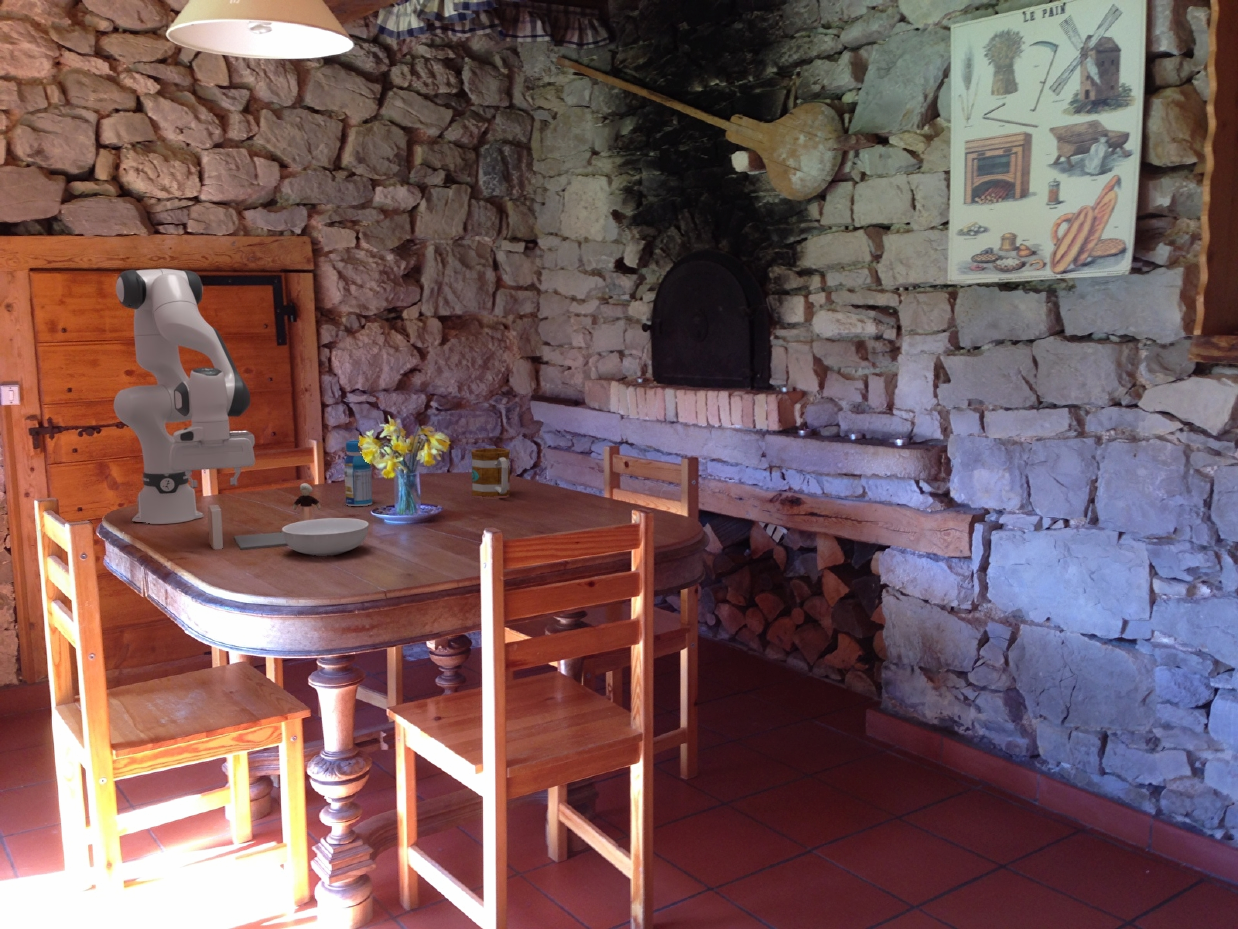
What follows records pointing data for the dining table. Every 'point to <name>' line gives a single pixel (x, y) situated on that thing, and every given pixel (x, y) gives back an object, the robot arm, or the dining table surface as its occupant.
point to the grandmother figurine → (306, 503)
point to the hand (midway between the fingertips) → (214, 486)
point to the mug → (490, 472)
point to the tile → (215, 527)
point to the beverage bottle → (357, 477)
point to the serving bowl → (325, 535)
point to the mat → (260, 540)
